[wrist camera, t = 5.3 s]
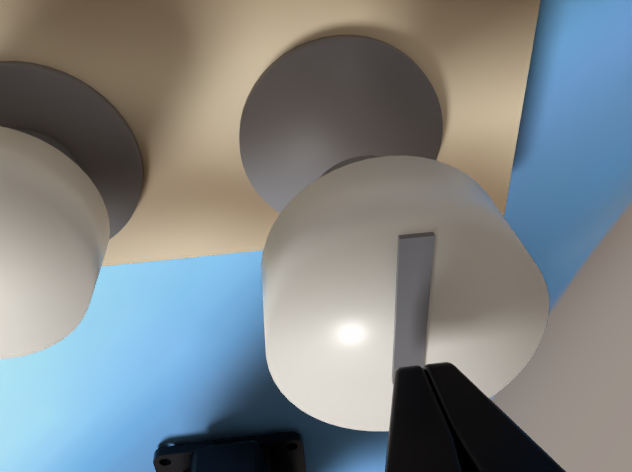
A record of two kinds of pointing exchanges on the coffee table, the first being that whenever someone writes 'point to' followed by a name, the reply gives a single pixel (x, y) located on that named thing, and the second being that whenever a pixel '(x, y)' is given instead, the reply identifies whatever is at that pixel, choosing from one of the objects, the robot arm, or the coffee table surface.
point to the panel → (258, 102)
